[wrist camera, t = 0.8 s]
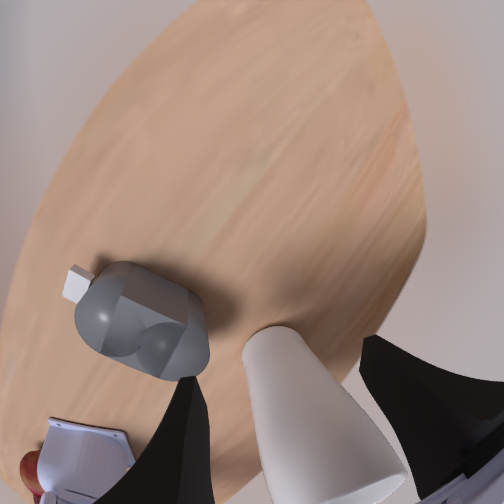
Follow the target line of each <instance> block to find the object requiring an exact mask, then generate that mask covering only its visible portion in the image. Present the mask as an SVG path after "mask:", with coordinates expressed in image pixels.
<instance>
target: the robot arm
mask: <svg viewBox="0 0 504 504" xmlns="http://www.w3.org/2000/svg"><path fill="white" fill-rule="evenodd" d="M359 372H360V374H361V376H362V378H363V380H364V382H365V385H366V387H367V389H368V390H369V392H370V393H371V395H372V397H373V398H374V400H375V401H376V403H377V404H378V406H379V407H380V409H381V410H382V412H383V413H384V415H385V416H386V418H387V419H388V420H389V422H390V424H391V426H392V427H393V429H394V431H395V433H396V435H397V437H398V440H399V442H400V444H401V446H402V449H403V451H404V453H405V456H406V458H407V461H408V463H409V466H410V469H411V472H412V475H413V478H414V482H415V485H416V489H417V493H418V496H419V498H420V499H421V501H420V502H418V503H416V504H440V503H441V504H502V503H503V502H504V382H497V381H487V380H480V379H475V378H470V377H466V376H462V375H459V374H455V373H452V372H449V371H447V370H444V369H441V368H439V367H436V366H434V365H432V364H429V363H427V362H425V361H423V360H421V359H419V358H417V357H415V356H413V355H411V354H410V353H408V352H406V351H404V350H402V349H401V348H399V347H397V346H395V345H393V344H392V343H390V342H388V341H386V340H385V339H383V338H381V337H380V336H378V335H376V334H375V335H372V336H369V337H366V338H364V341H363V348H362V355H361V361H360V367H359ZM48 422H49V424H50V427H49V430H48V432H47V435H46V438H45V441H44V444H43V447H42V450H41V453H40V456H39V459H38V464H37V475H38V480H39V483H40V485H41V487H42V488H43V490H44V491H45V492H44V493H43V495H42V497H41V500H40V503H39V504H215V501H214V496H213V490H212V483H211V475H210V426H209V418H208V410H207V405H206V402H205V400H204V397H203V395H202V392H201V389H200V387H199V384H198V381H197V379H196V376H188V377H181V378H180V379H179V381H178V384H177V387H176V389H175V392H174V394H173V397H172V399H171V402H170V404H169V406H168V408H167V410H166V412H165V415H164V417H163V419H162V421H161V423H160V424H159V426H158V428H157V430H156V432H155V434H154V435H153V437H152V439H151V440H150V442H149V444H148V445H147V447H146V448H145V450H144V451H143V452H142V454H141V455H140V457H139V458H138V459H137V460H136V461H135V459H134V456H133V454H132V451H131V449H130V446H129V443H128V441H127V438H126V435H125V433H123V432H121V431H115V430H108V429H101V428H95V427H89V426H84V425H79V424H74V423H69V422H65V421H61V420H57V419H53V418H49V419H48ZM127 467H129V468H130V469H129V470H128V471H127Z"/></svg>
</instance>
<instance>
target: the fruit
mask: <svg viewBox="0 0 504 504" xmlns="http://www.w3.org/2000/svg"><path fill="white" fill-rule="evenodd" d="M40 453H41V450H38V451H31V452H29V453H27V454H26V455H25V456H24V457H23V459H22V460H21V462H20V475H21V478H22V481H23V483H24V484H25V486H26V487H27V488H28V489H29V490H30V491H31V492H32V493H33V496H34V503H35V504H39V503H40V500H41V497H42V495H43V493H44V492H45V491H44V490H43V488H42V487H41V485H40V483H39V480H38V475H37V464H38V459H39V456H40Z"/></svg>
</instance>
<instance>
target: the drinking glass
mask: <svg viewBox="0 0 504 504" xmlns="http://www.w3.org/2000/svg"><path fill="white" fill-rule="evenodd" d="M241 360H242V365H243V369H244V372H245V376H246V381H247V387H248V393H249V398H250V404H251V410H252V416H253V422H254V428H255V433H256V439H257V445H258V450H259V455H260V461H261V465H262V470H263V474H264V478H265V481H266V485H267V487H268V491H269V494H270V497H271V499H272V503H273V504H378V503H379V502H380V501H382V500H384V499H385V498H386V497H388V496H389V495H390V494H391V493H393V492H394V491H395V490H396V489H397V488H398V487H399V486H400V485H401V484H402V483H403V482H404V481H405V479H406V477H407V474H408V472H407V470H406V469H405V467H404V465H403V464H402V462H401V460H400V459H399V457H398V456H397V454H396V452H395V451H394V449H393V448H392V446H391V445H390V443H389V442H388V441H387V439H386V438H385V436H384V435H383V434H382V432H381V431H380V430H379V428H378V427H377V426H376V425H375V423H374V422H373V421H372V419H371V418H370V417H369V416H368V415H367V413H366V412H365V411H364V410H363V409H362V408H361V407H360V405H359V404H358V403H357V402H356V401H355V400H354V399H353V398H352V396H351V395H350V394H349V393H348V392H347V391H346V390H345V389H344V387H343V386H342V385H341V384H340V383H339V382H338V381H337V380H336V378H335V377H334V376H333V375H332V374H331V373H330V372H329V370H328V369H327V368H326V367H325V366H324V365H323V363H322V362H321V361H320V360H319V359H318V358H317V356H316V355H315V354H314V353H313V352H312V351H311V349H310V348H309V347H308V345H307V344H306V342H305V341H304V339H303V338H302V337H301V335H300V334H299V333H298V332H296V331H295V330H293V329H291V328H288V327H284V326H273V327H268V328H265V329H263V330H260V331H259V332H257V333H255V334H254V335H253V336H252V337H251V338H250V339H249V340H248V341H247V342H246V344H245V346H244V348H243V351H242V356H241Z"/></svg>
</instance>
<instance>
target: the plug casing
mask: <svg viewBox="0 0 504 504" xmlns="http://www.w3.org/2000/svg"><path fill="white" fill-rule="evenodd" d="M94 278H95V275H94V274H92V273H90V272H88V271H86V270H85V269H83V268H81V267H79V266H77V265H76V264H75V265H74V266H72V267H71V268H70V269H69V272H68V275H67V279H66V282H65V286H64V290H63V294H62V296H64V297H65V298H67V299H69V300H71V301H73V302H74V303H76V304H77V306H76V309H75V316H74V318H75V325H76V328H77V330H78V333H79V334H80V336H81V338H82V339H83V340H84V341H85V343H86V344H87V345H88V346H90V347H91V348H92V349H94V350H95V351H97V352H99V353H101V354H103V355H105V356H107V357H109V358H111V359H114V360H116V361H118V362H120V363H122V364H125V365H127V366H129V367H132V368H134V369H137V370H139V371H142V372H144V373H147V374H149V375H152V376H154V377H157V378H160V379H163V380H167V381H179V379H180V378H181V377H188V376H197V375H199V374H200V373H201V372H202V371H203V370H204V369H205V368H206V366H207V364H208V362H209V358H210V349H209V342H208V334H207V326H206V317H205V309H204V306H203V303H202V301H201V300H200V298H199V297H198V296H197V295H196V294H195V293H193V292H192V291H190V290H188V289H186V288H184V287H182V286H180V285H178V284H176V283H173V282H171V281H169V280H167V279H165V278H163V277H161V276H159V275H157V274H155V273H153V272H151V271H149V270H147V269H145V268H143V267H141V266H139V265H137V264H134V263H131V262H127V261H119V262H115V263H112V264H110V265H109V266H107V267H106V268H105V269H104V270H103V271H102V272H101V274H100V275H99V276H98V277H97V279H96V280H95V281H94ZM93 281H94V283H93Z"/></svg>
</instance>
